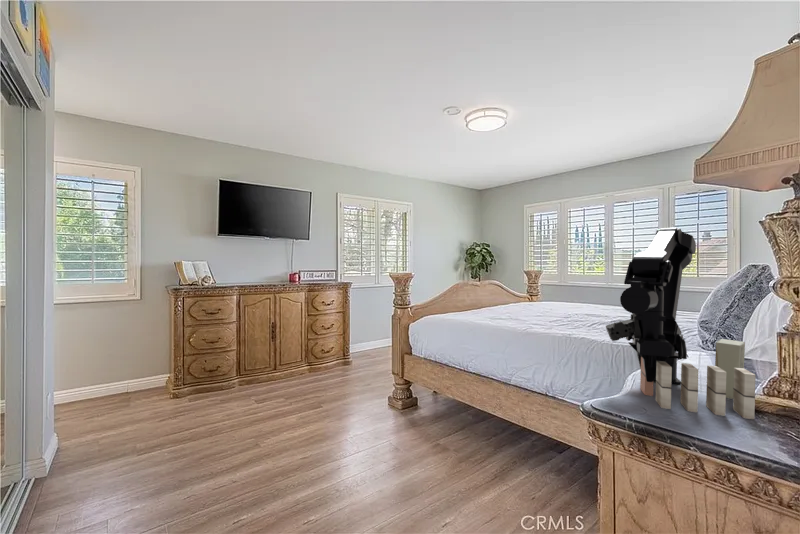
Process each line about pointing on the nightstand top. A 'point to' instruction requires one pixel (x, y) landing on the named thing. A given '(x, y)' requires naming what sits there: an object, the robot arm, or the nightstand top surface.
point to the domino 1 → (645, 382)
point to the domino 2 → (689, 387)
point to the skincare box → (729, 360)
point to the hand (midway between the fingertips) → (646, 378)
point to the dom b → (663, 384)
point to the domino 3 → (744, 393)
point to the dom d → (716, 390)
